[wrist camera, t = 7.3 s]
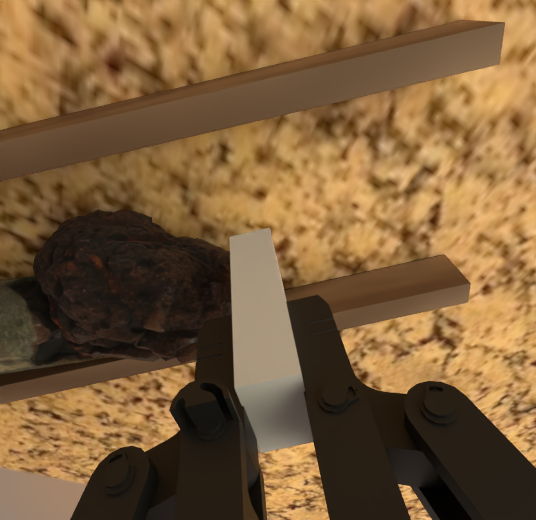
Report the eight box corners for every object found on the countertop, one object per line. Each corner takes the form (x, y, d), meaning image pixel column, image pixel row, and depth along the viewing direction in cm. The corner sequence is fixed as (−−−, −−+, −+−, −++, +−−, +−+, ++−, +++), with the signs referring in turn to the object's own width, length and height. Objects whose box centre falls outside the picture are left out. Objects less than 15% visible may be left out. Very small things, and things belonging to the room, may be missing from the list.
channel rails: (-253, 190, 15) (-330, 220, 13) (462, 19, 14) (504, 22, 12) (-51, 381, 21) (-80, 421, 19) (443, 272, 21) (468, 302, 19)
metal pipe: (-68, 345, 20) (-158, 446, 16) (-161, 235, 17) (-315, 324, 12) (261, 297, 20) (272, 381, 16) (243, 178, 17) (249, 243, 12)
